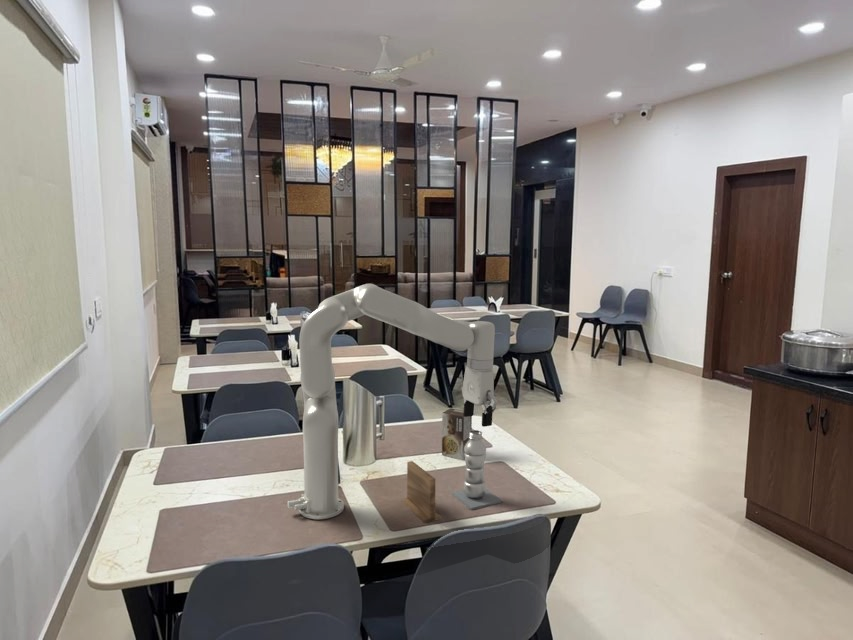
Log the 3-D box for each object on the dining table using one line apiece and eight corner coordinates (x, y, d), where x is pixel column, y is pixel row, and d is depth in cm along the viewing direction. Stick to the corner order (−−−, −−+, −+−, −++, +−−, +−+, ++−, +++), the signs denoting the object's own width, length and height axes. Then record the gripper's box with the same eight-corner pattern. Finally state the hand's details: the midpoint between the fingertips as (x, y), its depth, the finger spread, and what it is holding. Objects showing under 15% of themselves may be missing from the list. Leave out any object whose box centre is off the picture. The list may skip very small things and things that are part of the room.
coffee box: (471, 455, 202) (472, 411, 200) (463, 460, 197) (464, 416, 195) (449, 449, 207) (450, 407, 205) (440, 455, 202) (441, 411, 200)
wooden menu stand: (424, 522, 153) (424, 481, 151) (401, 501, 165) (402, 462, 164) (440, 518, 155) (440, 477, 154) (416, 498, 168) (417, 460, 166)
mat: (470, 509, 161) (470, 507, 161) (451, 494, 170) (451, 492, 170) (502, 502, 166) (502, 500, 166) (481, 487, 176) (481, 485, 176)
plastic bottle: (484, 502, 164) (486, 436, 162) (461, 499, 166) (462, 435, 163) (486, 492, 171) (488, 429, 168) (464, 490, 172) (465, 427, 169)
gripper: (453, 359, 168) (451, 414, 171) (486, 371, 153) (483, 431, 156) (474, 357, 172) (472, 411, 174) (508, 369, 157) (505, 428, 159)
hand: (477, 420), depth 165 cm, fingers open, 9 cm apart
